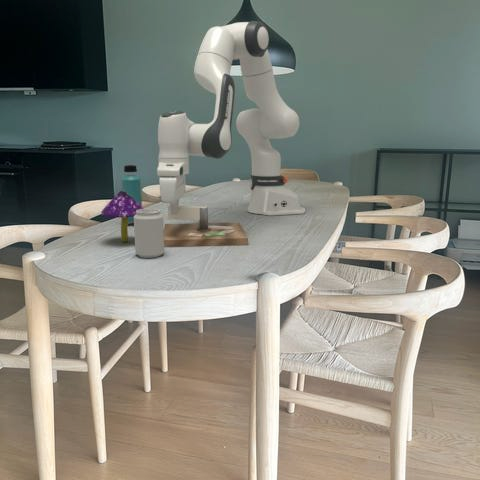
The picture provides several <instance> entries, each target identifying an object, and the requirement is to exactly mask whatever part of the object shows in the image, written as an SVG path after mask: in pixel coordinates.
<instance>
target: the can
mask: <svg viewBox="0 0 480 480" xmlns="http://www.w3.org/2000/svg"><path fill="white" fill-rule="evenodd" d="M133 227H134V228H133V229H134V249H135V254H136V255H137V256H138V257H139V258H142V259H155V258H159V257H161V256H162V255H163V254H164V253H165V247H164V227H165V224H164V215H163V214H162V213H161V209H158V208H144V209H140V210H137V211H136V215H135V216H134V222H133Z"/></svg>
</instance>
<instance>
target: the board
mask: <svg viewBox="0 0 480 480" xmlns="http://www.w3.org/2000/svg"><path fill="white" fill-rule="evenodd" d="M208 226H225V227H233V229H216V228H208V229H207V230H200V229H199V222H197V223H194V222H193V223H191V222H190V223H165V224H164V248H176V247H177V248H182V247H214V246H215V247H219V246H249V236H248V235H247V233H246V232H245V230H244V229H243V227H242V225H241V224H240V222H208Z"/></svg>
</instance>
